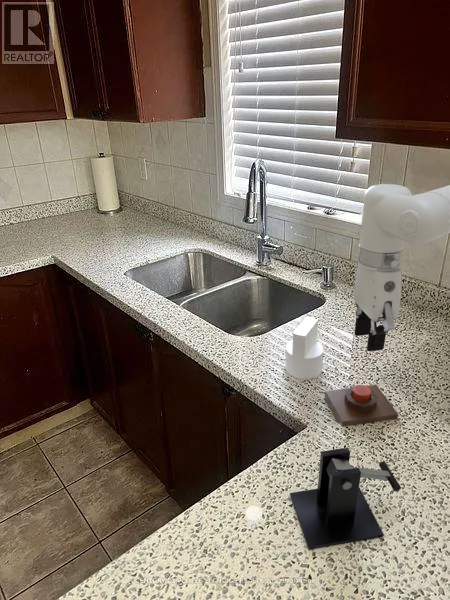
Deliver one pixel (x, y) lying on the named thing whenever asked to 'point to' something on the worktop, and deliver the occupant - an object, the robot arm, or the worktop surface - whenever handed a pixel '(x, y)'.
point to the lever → (366, 472)
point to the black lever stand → (335, 507)
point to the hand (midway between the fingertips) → (368, 341)
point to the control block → (359, 407)
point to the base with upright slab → (304, 351)
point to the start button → (361, 393)
